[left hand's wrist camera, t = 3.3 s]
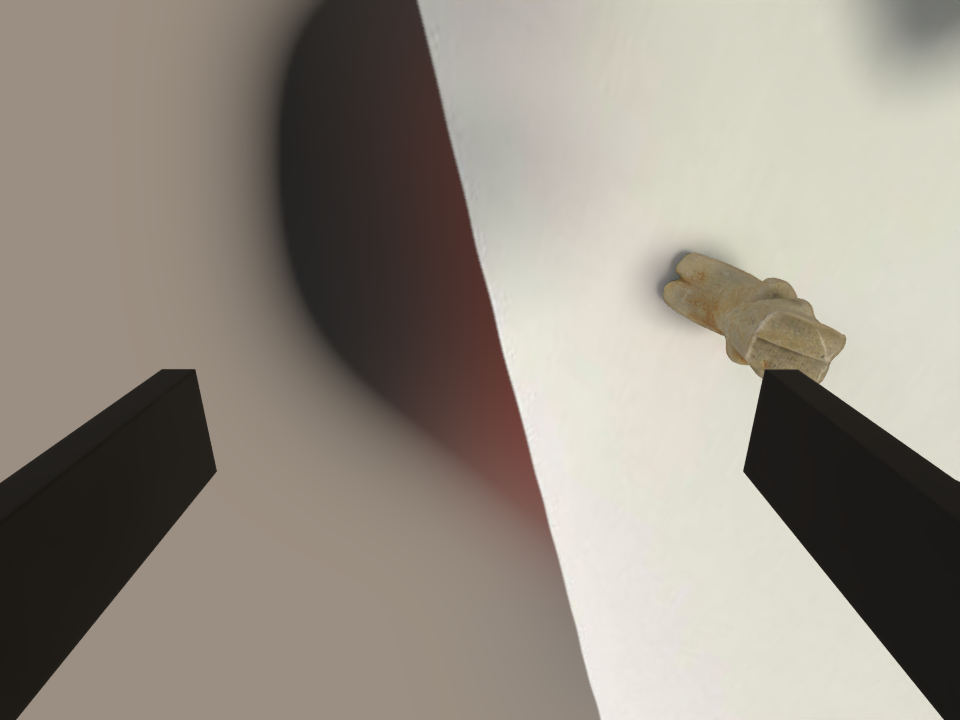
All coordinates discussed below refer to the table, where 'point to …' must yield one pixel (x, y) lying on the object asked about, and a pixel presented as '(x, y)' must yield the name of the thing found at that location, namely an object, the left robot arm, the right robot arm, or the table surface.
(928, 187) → the table surface
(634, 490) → the table surface
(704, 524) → the table surface
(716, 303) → the sculpture
